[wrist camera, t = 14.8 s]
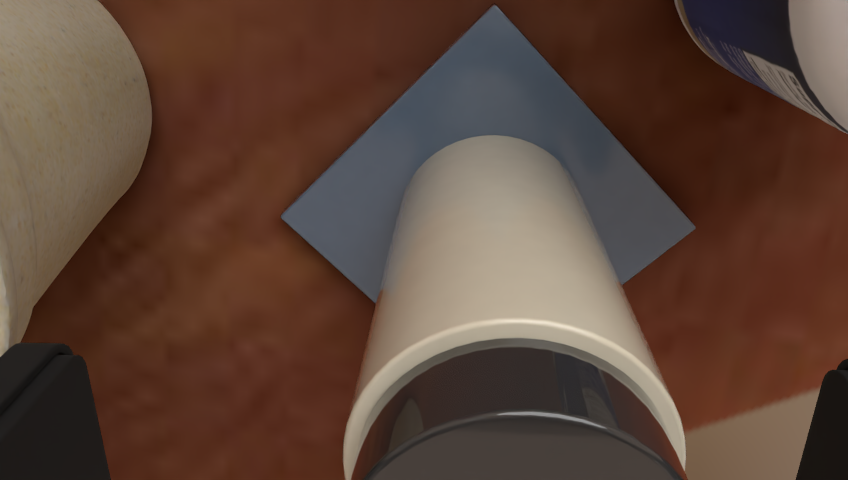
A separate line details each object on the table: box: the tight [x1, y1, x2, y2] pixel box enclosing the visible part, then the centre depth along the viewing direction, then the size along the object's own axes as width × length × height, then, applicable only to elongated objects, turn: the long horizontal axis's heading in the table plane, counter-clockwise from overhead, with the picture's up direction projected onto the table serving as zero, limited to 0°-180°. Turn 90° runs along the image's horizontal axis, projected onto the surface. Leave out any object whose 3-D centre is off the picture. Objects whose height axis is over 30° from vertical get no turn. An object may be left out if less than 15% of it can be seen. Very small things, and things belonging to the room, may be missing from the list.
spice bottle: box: [343, 135, 688, 480], centre depth 12 cm, size 4×4×10 cm
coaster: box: [280, 3, 696, 304], centre depth 17 cm, size 7×7×1 cm
